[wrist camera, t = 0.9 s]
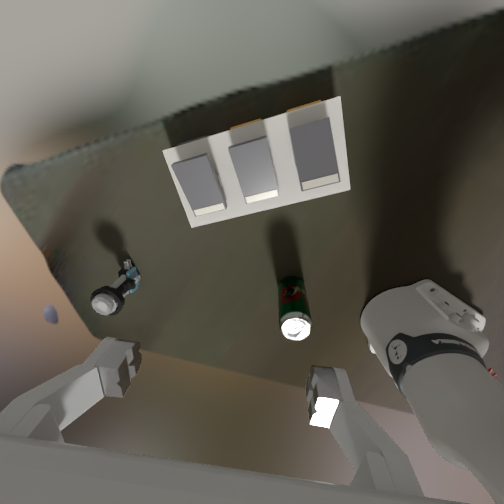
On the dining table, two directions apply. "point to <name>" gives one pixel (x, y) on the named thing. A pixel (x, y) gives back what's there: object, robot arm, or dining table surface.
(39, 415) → the robot arm
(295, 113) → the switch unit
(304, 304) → the soda can
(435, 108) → the dining table surface
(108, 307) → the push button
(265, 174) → the middle rocker
